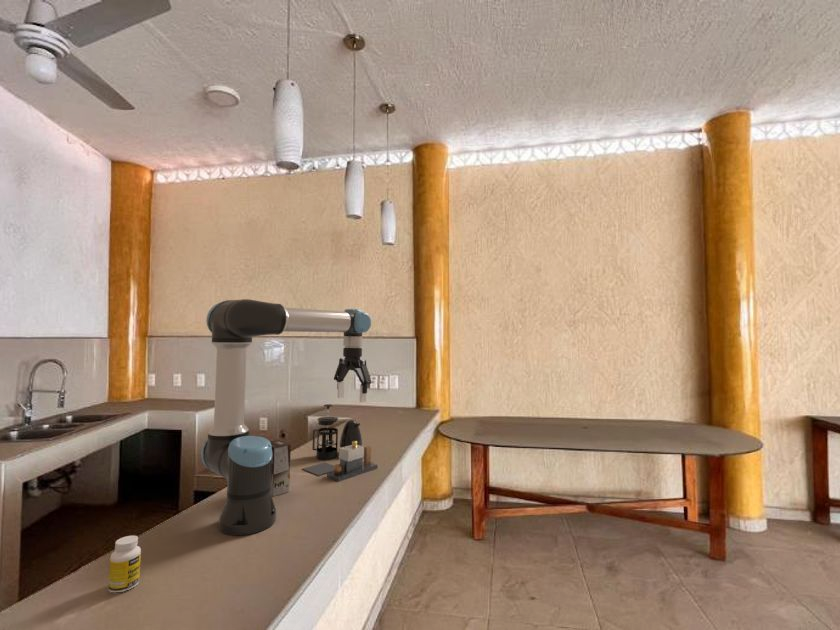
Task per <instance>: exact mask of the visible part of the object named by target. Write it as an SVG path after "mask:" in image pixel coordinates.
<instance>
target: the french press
mask: <svg viewBox="0 0 840 630" xmlns="http://www.w3.org/2000/svg"><path fill="white" fill-rule="evenodd" d="M333 406H334V405H333V404H324V405H323V407H326V409H327V412H330V411H329V410H330V407H333ZM338 420H339V418H338V417H337V416H321V417H318V418H317V422H318V423H317V424H318V425H320V426H325V427H321V428H318V429H316V428H315V429H313V430H312V451H316V455H315V458H316V460H319V461H333V460H336V459H338V458H339V454H338V442H339V441H338V438H339V437H338V436H339V435H338V434H339V429H338V428H336V427H331V426H332V425H334V424H335V423H336V422H337V421H338ZM333 435H335V440H333ZM320 436H321V440H320ZM315 440H316V443H315ZM315 444H316V448H315Z"/></svg>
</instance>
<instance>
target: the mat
mask: <svg viewBox="0 0 840 630" xmlns="http://www.w3.org/2000/svg"><path fill="white" fill-rule="evenodd" d="M334 465H335V464H334ZM334 465H333V464H331V463H327V462H325V461H324V462H320V463H318V464H313V465H310V466H307V467H304V468H301V470H303V471H305V472H307V473H309V474H312V475H315V476H317V477H320V476H321V477H322V476H324V475H327V473H329V472H332V471H334Z"/></svg>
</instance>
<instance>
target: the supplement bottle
mask: <svg viewBox="0 0 840 630" xmlns="http://www.w3.org/2000/svg"><path fill="white" fill-rule="evenodd" d="M138 542H139V537H138V535H127V536H123V537H120V538H119V539H117V540H115V543H114V545H115V546H114V551H113V552H112V553H111V555H110V558H109V569H108V570H109V572H108V584H107V585H108V589H107V590H108V592H109V591H111V592H121V591H126V590H129V589H131V588H133V587H134V588H136V587H137V586H136V585H139V583H140V575H141V574H140V572H141V557H142V556H141V555H142V549H141V547H140V546H139V545H138ZM134 588H133V589H134ZM131 590H132V589H131ZM129 591H130V590H129ZM111 592H110V593H111ZM126 592H127V591H126Z"/></svg>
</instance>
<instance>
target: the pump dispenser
mask: <svg viewBox="0 0 840 630" xmlns="http://www.w3.org/2000/svg"><path fill="white" fill-rule="evenodd" d="M360 426H361V423H359V422H357V421H356V420H354V419H349V420H347V421H346V423H345V424H344V426H343V428H342V432H341V435H340V439H339V448H341V447H345V446H349V445H352V441H357V445H360V446H363V438H362V432H361V429H360Z"/></svg>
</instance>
